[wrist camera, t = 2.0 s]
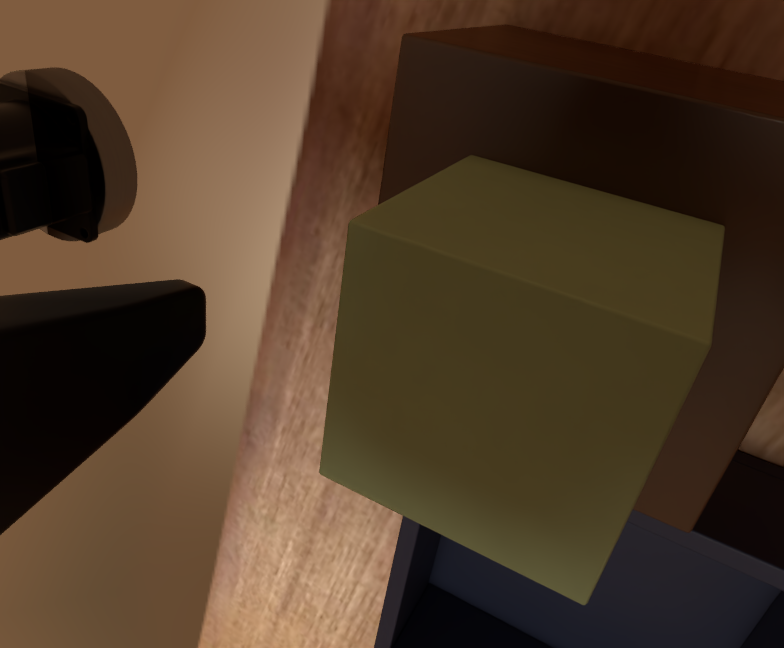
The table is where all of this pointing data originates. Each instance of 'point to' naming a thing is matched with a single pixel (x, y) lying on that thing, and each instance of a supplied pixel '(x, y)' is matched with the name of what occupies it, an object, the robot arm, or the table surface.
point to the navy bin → (609, 583)
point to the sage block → (516, 361)
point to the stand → (626, 190)
